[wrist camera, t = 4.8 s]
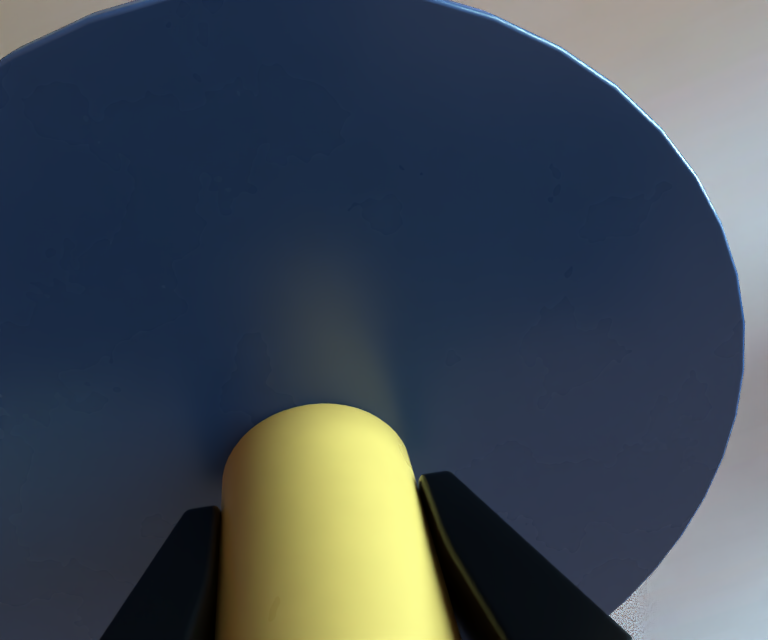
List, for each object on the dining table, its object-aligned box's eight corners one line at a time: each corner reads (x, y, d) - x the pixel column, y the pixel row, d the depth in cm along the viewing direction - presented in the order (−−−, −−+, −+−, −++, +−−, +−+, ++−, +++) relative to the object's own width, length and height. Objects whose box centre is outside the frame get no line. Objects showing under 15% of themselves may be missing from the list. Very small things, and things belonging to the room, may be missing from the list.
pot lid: (648, 628, 15) (838, 971, 10) (7, 744, 14) (-127, 1206, 9) (786, -65, 9) (1457, -30, 4) (-383, 16, 7) (-1627, 227, 2)
